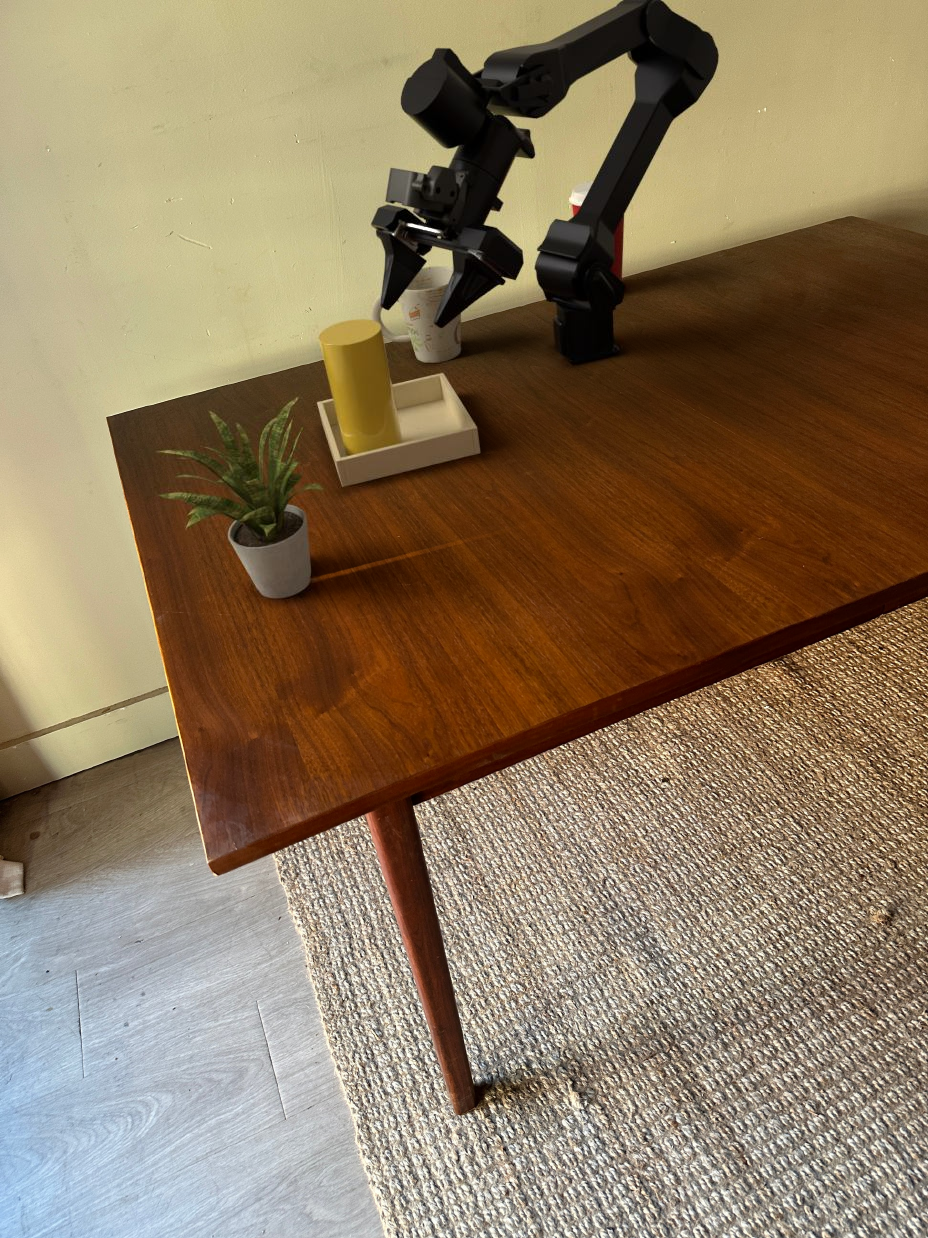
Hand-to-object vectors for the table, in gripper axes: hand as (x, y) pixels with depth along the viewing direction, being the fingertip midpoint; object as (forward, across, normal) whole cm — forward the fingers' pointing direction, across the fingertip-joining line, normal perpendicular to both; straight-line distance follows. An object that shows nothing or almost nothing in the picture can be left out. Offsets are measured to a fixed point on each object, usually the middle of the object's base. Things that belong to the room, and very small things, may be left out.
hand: (410, 316), depth 96 cm
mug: (0, -18, +19) cm, 26 cm away
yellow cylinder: (+14, 0, +4) cm, 15 cm away
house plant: (+28, +11, -9) cm, 31 cm away
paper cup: (-20, -12, +39) cm, 46 cm away
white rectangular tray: (+12, -1, +7) cm, 14 cm away
